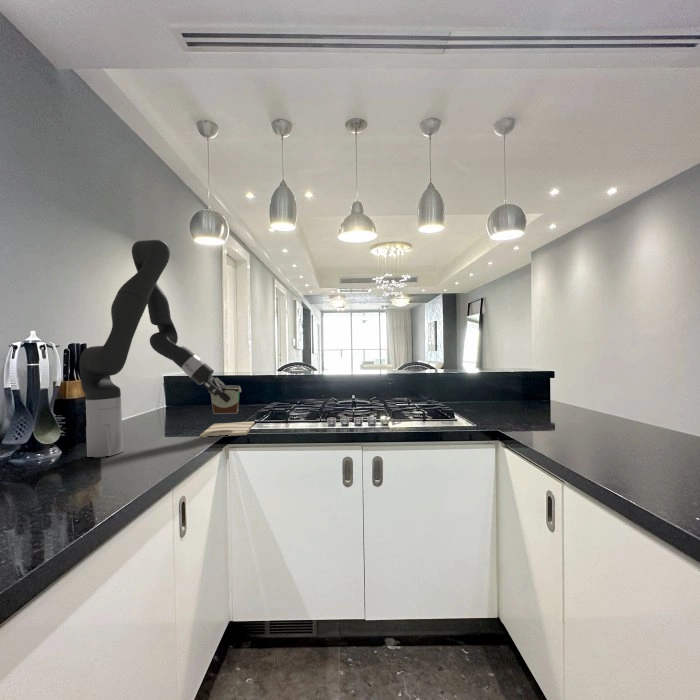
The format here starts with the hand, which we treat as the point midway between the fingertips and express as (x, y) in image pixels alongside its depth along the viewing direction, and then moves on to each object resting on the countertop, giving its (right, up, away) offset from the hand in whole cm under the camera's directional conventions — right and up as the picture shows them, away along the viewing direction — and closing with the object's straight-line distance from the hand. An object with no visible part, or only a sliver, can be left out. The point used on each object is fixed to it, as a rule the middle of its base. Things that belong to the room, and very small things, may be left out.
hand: (230, 399), depth 149 cm
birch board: (-1, -12, 0) cm, 12 cm away
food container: (-1, -5, 0) cm, 5 cm away
